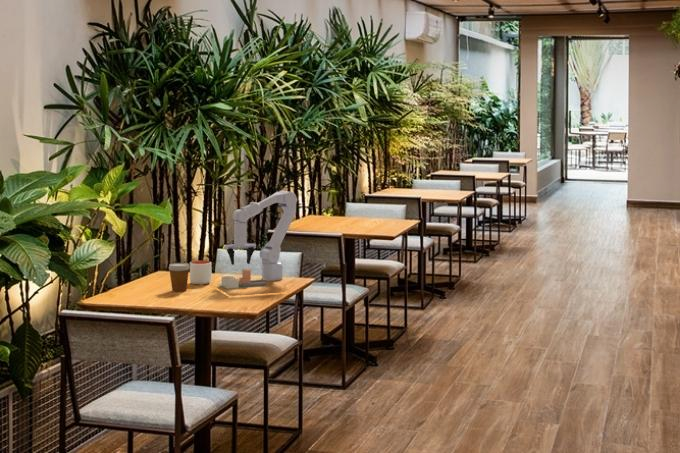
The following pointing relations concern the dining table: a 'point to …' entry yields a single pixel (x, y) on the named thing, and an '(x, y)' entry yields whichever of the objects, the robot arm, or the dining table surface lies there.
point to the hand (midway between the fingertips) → (240, 264)
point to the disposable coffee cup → (179, 276)
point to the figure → (245, 277)
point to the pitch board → (234, 283)
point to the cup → (200, 272)
